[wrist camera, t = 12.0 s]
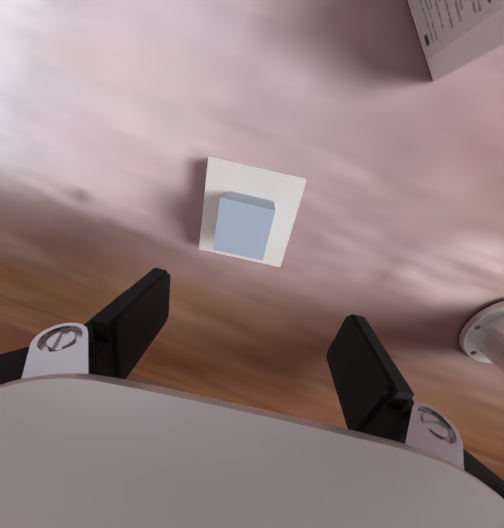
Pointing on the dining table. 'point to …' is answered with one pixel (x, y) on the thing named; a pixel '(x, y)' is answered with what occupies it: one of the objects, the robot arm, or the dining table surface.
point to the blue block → (243, 225)
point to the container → (457, 31)
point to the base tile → (258, 185)
